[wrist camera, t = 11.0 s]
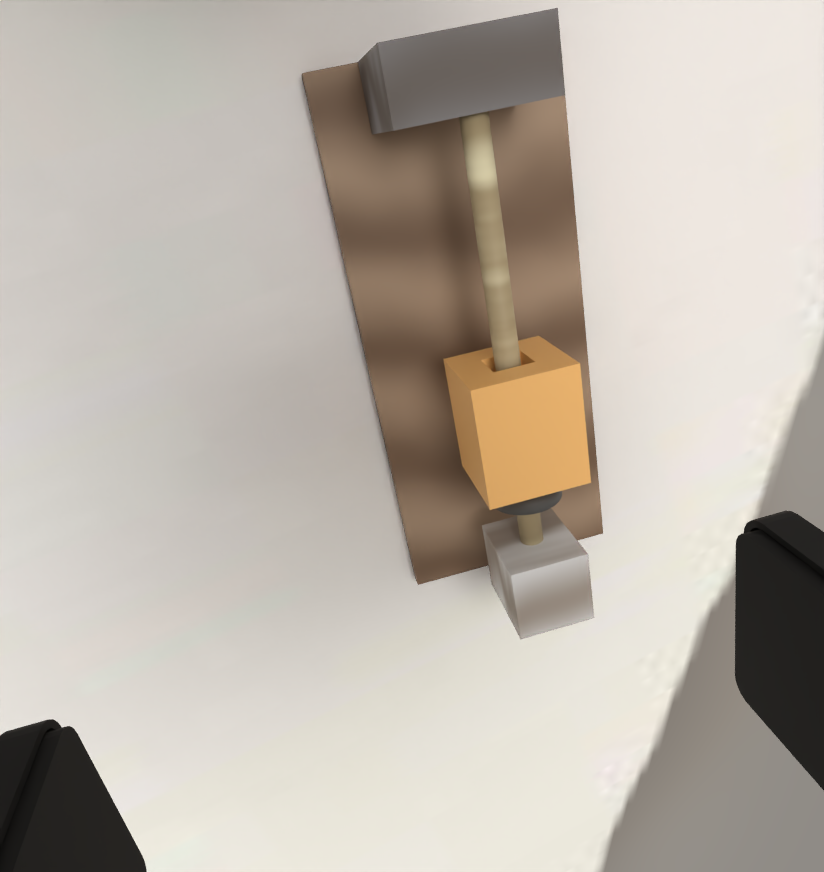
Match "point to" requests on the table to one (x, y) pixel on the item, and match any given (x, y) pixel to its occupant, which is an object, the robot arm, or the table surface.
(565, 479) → the sleeve
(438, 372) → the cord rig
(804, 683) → the robot arm
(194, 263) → the table surface
